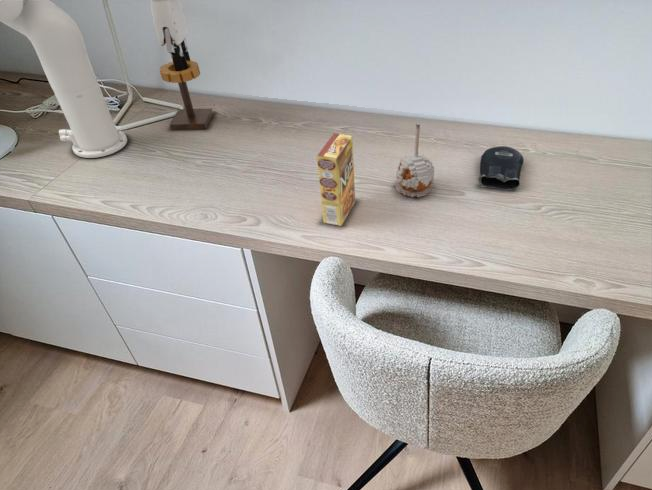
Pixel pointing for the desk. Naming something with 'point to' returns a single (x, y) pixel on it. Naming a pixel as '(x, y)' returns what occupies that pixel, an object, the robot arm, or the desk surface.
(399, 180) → the caramel apple
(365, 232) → the desk surface
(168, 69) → the ring
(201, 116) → the stand
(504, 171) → the electronic device
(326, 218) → the candy box
